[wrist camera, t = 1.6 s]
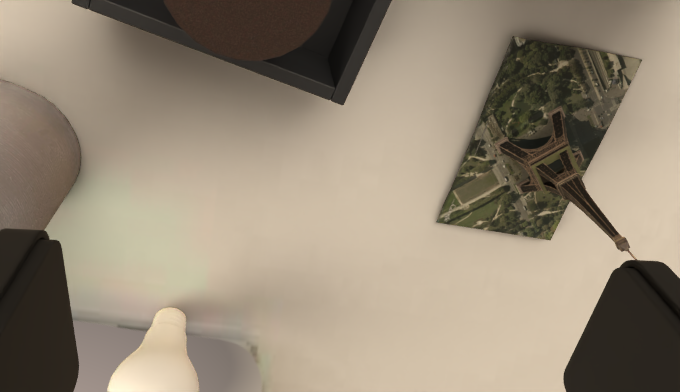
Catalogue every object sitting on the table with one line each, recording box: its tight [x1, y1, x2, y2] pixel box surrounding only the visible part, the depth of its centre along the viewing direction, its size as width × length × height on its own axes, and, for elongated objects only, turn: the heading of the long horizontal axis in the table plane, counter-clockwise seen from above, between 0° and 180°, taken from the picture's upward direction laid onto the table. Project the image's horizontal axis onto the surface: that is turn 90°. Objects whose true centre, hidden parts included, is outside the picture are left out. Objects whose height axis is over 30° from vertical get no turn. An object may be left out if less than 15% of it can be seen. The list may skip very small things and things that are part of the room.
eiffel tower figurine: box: [437, 36, 642, 260], centre depth 35 cm, size 15×10×13 cm
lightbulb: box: [107, 307, 199, 392], centre depth 41 cm, size 6×6×11 cm
